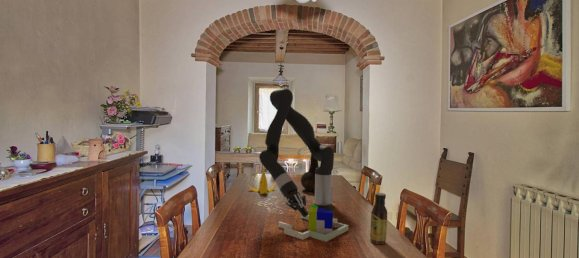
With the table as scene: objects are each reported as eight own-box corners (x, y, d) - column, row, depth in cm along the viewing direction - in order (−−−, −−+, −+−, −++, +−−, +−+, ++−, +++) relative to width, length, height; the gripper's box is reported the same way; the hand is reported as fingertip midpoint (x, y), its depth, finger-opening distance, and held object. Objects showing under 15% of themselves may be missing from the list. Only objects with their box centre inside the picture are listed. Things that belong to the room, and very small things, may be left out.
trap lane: (271, 229, 141) (271, 224, 141) (307, 215, 162) (308, 211, 162) (319, 245, 125) (319, 239, 125) (353, 227, 146) (353, 222, 146)
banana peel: (265, 196, 198) (265, 169, 197) (247, 190, 212) (247, 165, 211) (285, 192, 209) (285, 167, 209) (266, 187, 223) (267, 163, 223)
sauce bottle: (367, 239, 132) (369, 191, 132) (382, 239, 133) (384, 191, 132) (373, 245, 126) (375, 195, 125) (388, 245, 126) (390, 195, 126)
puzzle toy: (332, 236, 134) (332, 213, 134) (308, 234, 136) (308, 211, 136) (332, 228, 144) (333, 206, 144) (310, 226, 146) (310, 205, 145)
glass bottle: (329, 188, 224) (330, 148, 222) (323, 194, 207) (324, 150, 206) (304, 186, 229) (305, 146, 228) (297, 191, 213) (298, 149, 211)
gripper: (281, 182, 146) (302, 214, 139) (299, 178, 156) (319, 208, 149) (272, 191, 150) (292, 224, 143) (290, 187, 160) (309, 217, 153)
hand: (306, 215), depth 146 cm, fingers closed
